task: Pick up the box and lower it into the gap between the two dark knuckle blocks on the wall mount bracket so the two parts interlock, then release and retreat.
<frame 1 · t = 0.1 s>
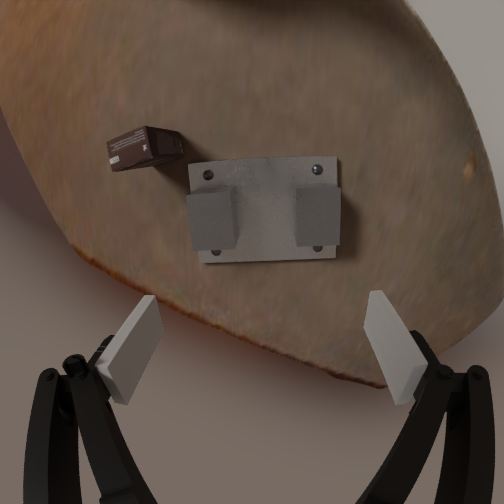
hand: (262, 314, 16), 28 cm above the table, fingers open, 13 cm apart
box: (164, 148, 39), on the table
wall mount bracket: (264, 209, 42), on the table
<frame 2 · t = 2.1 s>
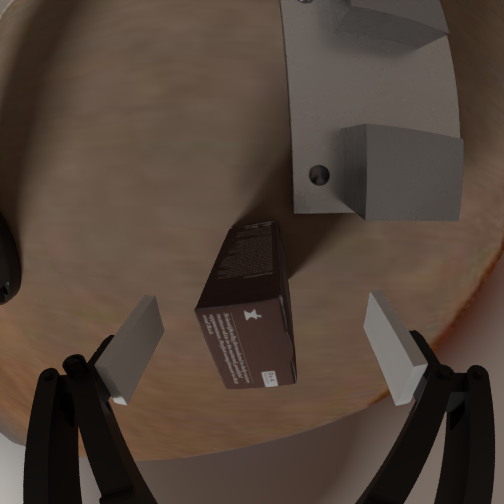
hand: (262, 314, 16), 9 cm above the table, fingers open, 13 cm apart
box: (258, 255, 24), on the table
wall mount bracket: (380, 85, 18), on the table
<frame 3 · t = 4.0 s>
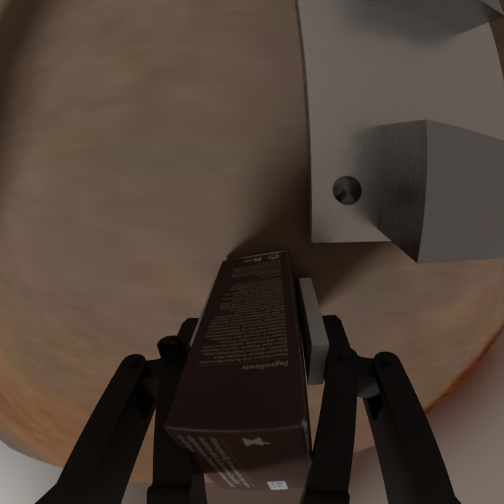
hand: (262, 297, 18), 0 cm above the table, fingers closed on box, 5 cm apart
box: (260, 294, 18), on the table, touching gripper
wall mount bracket: (421, 73, 12), on the table
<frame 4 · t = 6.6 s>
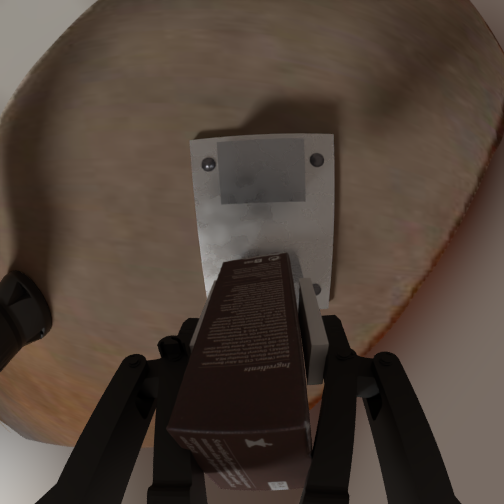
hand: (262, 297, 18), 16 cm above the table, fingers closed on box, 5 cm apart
box: (260, 295, 18), point 16 cm above the table, touching gripper
wall mount bracket: (265, 227, 33), on the table
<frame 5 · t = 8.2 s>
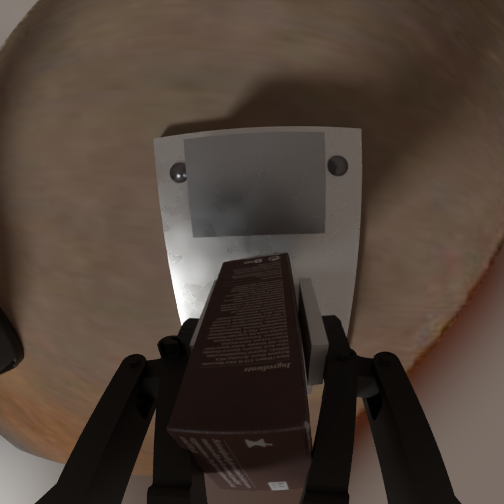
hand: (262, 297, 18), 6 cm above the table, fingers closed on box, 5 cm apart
box: (260, 295, 18), point 6 cm above the table, touching gripper
wall mount bracket: (262, 260, 24), on the table
when the fingers open (3 cm above the table, at t = 9.6 s): box drops 1 cm, resting on wall mount bracket.
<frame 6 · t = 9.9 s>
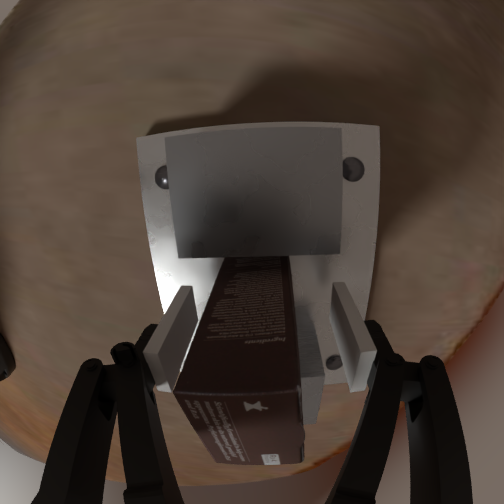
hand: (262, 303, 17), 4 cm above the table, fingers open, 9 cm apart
box: (260, 285, 20), point 1 cm above the table, touching wall mount bracket
wall mount bracket: (263, 277, 21), on the table
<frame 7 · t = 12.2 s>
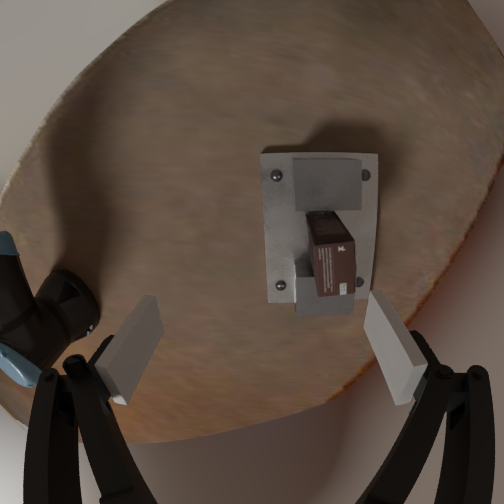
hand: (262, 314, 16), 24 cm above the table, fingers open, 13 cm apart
box: (320, 232, 37), point 1 cm above the table, touching wall mount bracket
wall mount bracket: (321, 230, 38), on the table
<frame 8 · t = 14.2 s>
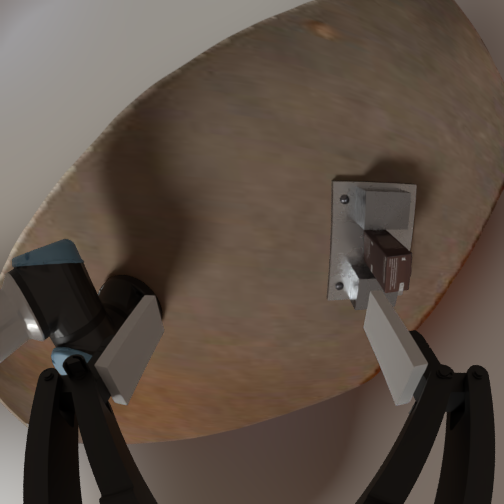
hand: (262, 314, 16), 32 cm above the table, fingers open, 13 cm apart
box: (372, 244, 46), point 1 cm above the table, touching wall mount bracket
wall mount bracket: (371, 242, 47), on the table
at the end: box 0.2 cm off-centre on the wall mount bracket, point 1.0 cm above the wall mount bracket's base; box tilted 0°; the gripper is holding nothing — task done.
